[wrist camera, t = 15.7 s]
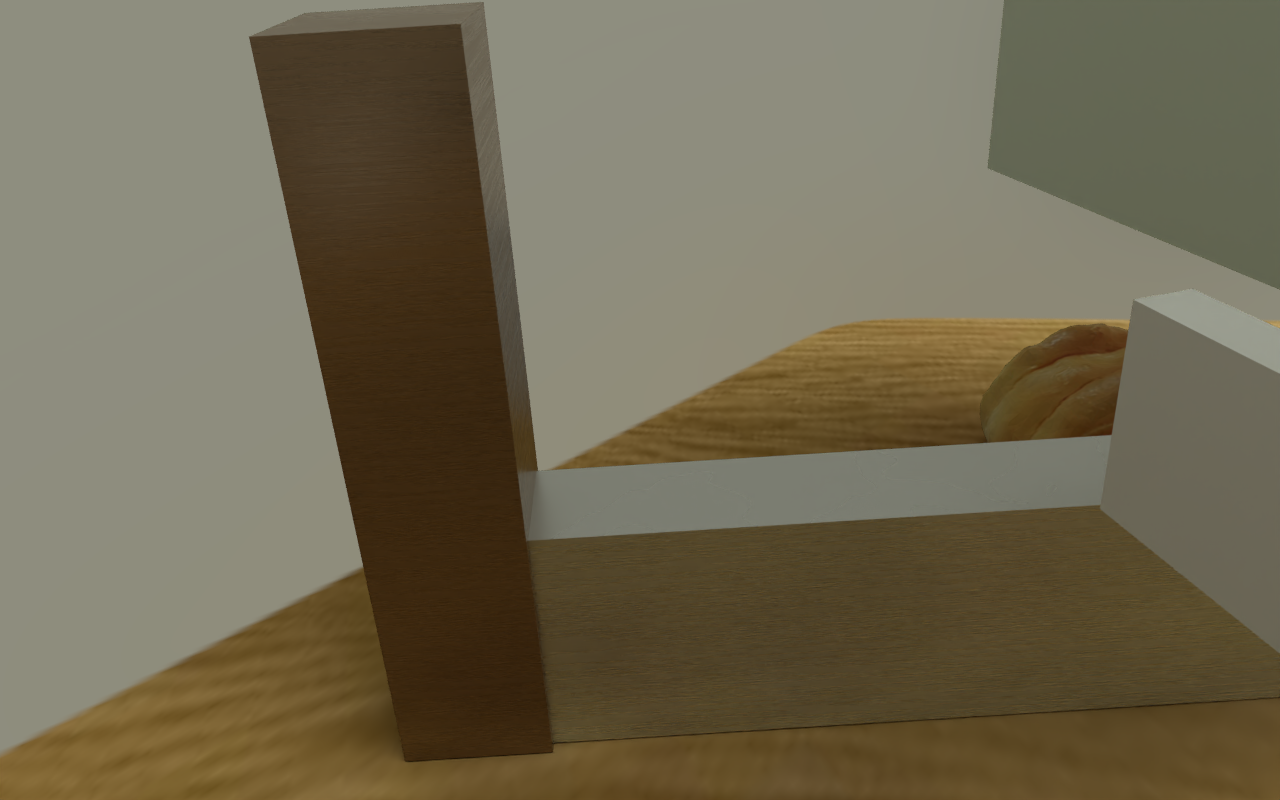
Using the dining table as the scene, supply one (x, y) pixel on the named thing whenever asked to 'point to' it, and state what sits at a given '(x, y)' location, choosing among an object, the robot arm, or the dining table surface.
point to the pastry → (1058, 387)
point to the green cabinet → (1150, 118)
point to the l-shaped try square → (660, 484)
